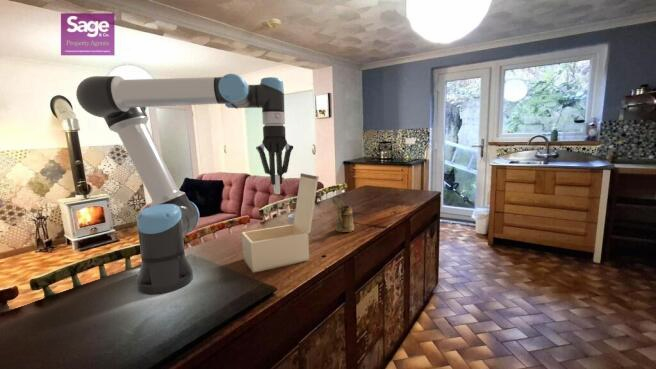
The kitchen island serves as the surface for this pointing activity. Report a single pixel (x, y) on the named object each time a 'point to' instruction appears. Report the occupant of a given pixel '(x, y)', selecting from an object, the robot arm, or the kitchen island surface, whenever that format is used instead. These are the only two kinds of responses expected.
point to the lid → (305, 201)
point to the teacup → (291, 219)
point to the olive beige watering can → (343, 215)
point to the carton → (275, 247)
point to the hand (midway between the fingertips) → (277, 193)
